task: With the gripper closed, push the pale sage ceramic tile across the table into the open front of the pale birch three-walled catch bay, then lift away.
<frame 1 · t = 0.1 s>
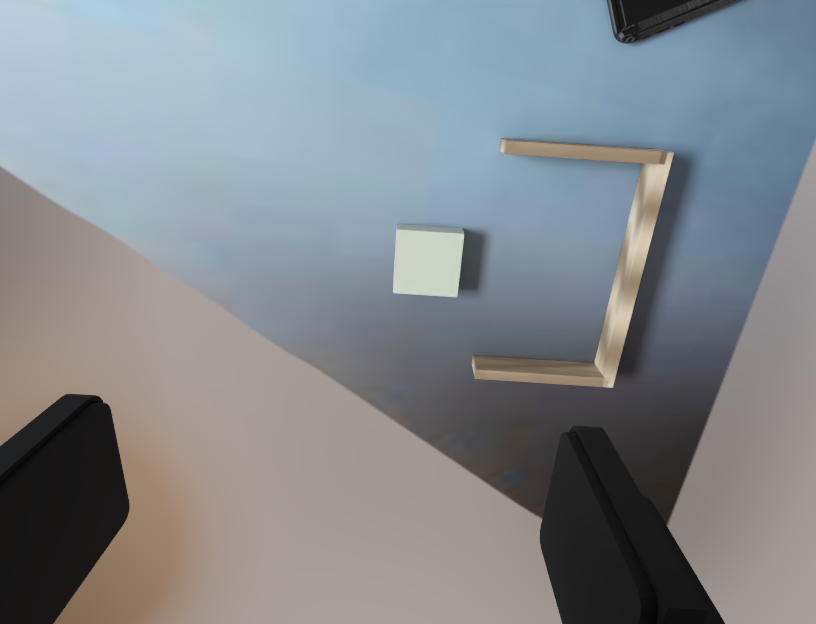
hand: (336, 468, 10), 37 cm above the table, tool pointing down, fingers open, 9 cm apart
catch bay: (553, 266, 46), on the table
sage tile: (427, 256, 47), on the table
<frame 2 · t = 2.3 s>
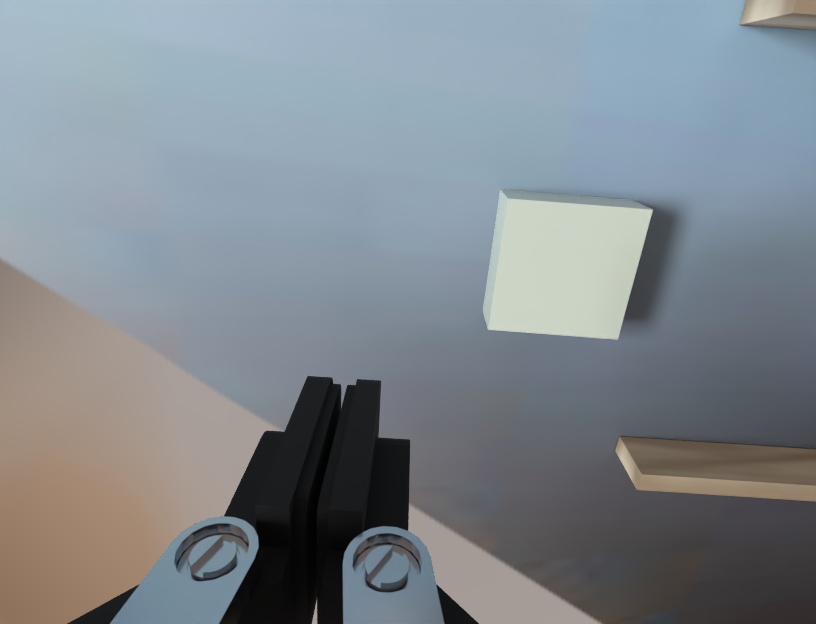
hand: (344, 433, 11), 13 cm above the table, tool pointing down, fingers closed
catch bay: (805, 275, 23), on the table
sage tile: (552, 256, 24), on the table
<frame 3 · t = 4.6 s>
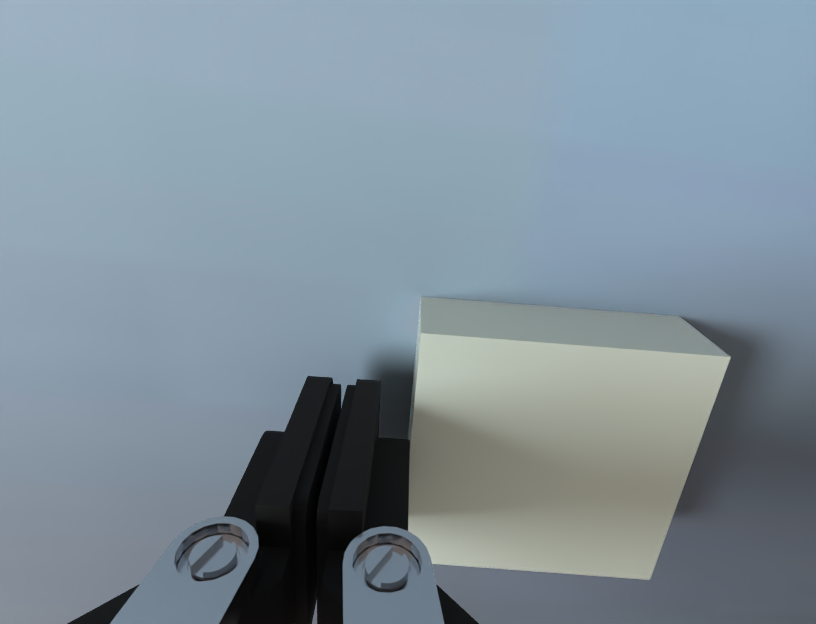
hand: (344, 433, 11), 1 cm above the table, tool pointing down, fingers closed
sage tile: (524, 405, 13), on the table, touching gripper
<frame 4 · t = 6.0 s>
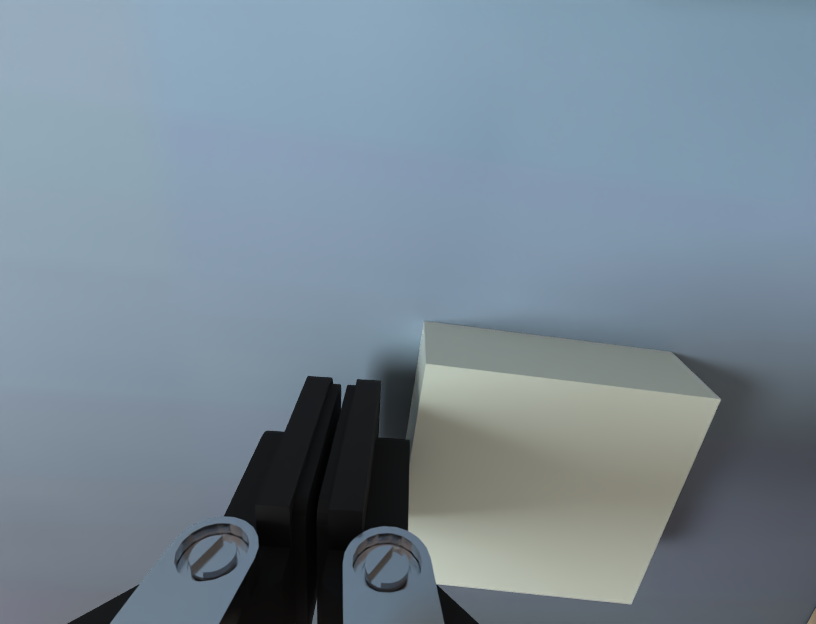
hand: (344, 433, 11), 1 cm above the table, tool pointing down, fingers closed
sage tile: (518, 429, 13), on the table, touching gripper
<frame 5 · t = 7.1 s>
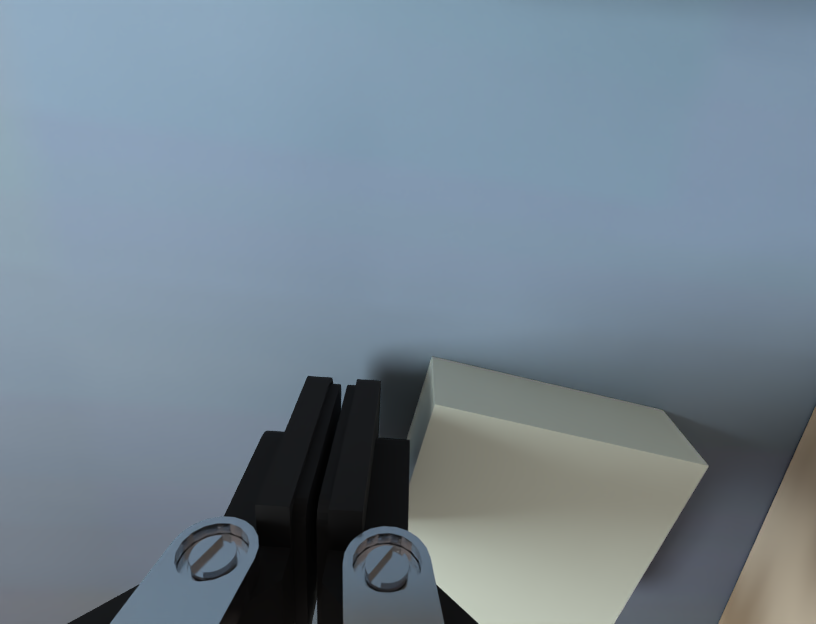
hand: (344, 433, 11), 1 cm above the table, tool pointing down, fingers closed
catch bay: (567, 419, 12), on the table
sage tile: (507, 467, 14), on the table
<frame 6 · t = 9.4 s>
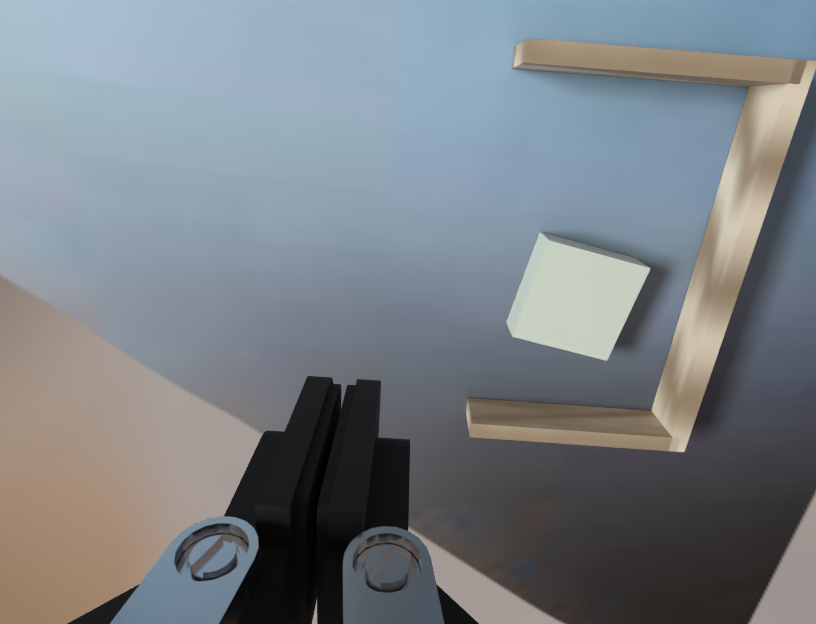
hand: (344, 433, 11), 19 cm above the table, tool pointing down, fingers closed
catch bay: (594, 261, 29), on the table
sage tile: (567, 289, 31), on the table
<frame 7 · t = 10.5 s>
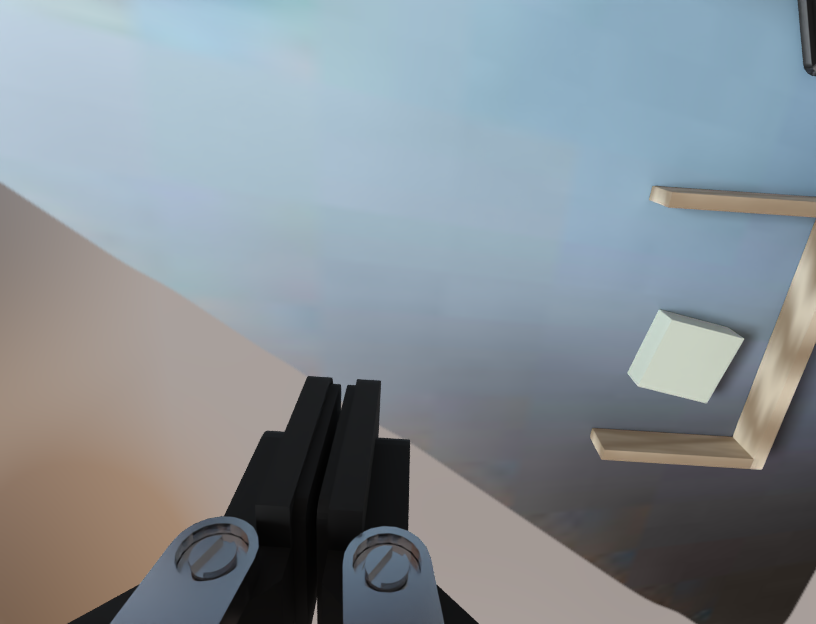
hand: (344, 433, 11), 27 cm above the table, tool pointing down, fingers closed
catch bay: (697, 330, 40), on the table
sage tile: (674, 348, 41), on the table
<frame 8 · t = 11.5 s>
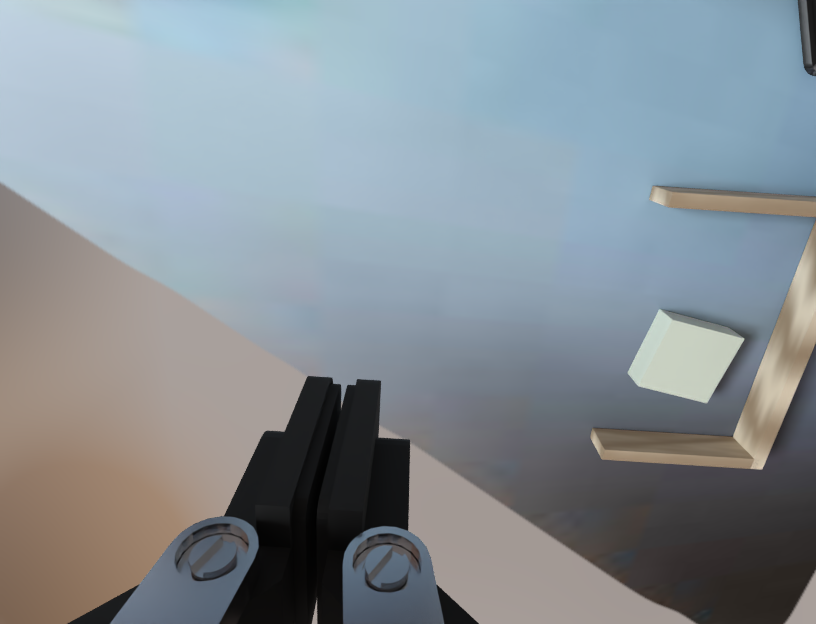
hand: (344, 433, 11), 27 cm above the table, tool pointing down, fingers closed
catch bay: (698, 330, 40), on the table
sage tile: (674, 348, 41), on the table
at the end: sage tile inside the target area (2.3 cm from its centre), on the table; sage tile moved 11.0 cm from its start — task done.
